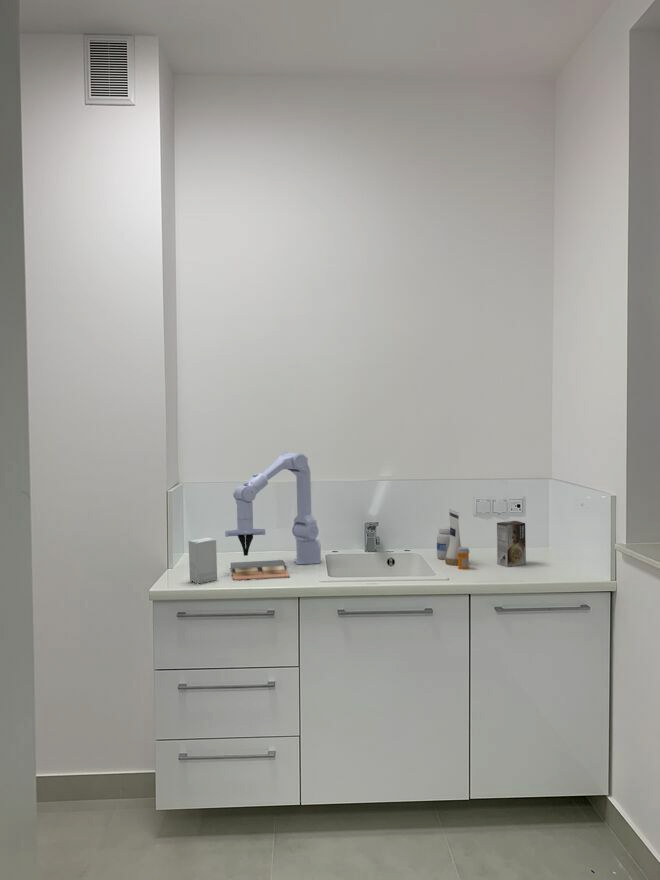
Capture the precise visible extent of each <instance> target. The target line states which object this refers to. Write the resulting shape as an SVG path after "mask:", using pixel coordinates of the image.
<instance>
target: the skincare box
mask: <svg viewBox="0 0 660 880" xmlns="http://www.w3.org/2000/svg"><path fill="white" fill-rule="evenodd" d="M217 559H218V558H217V539H215V538H212V537H210V536H209V537H207V536H206V537H202V538H196V539H190V540H188V560H189V561H188V562H189V581H190V582H192V581H193V582H192V583H194V582H195V583H194V584H196V583H200V584H204V583H208V582H213V581H217V580H218V567H217V566H218V564H217V562H218V561H217Z"/></svg>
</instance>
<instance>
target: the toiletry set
mask: <svg viewBox="0 0 660 880" xmlns="http://www.w3.org/2000/svg"><path fill="white" fill-rule="evenodd" d="M459 523H460V521H459V512H458V511H455V510H452V509H449V526H440V527H438V534H437V536H436V557H437V558H438V560H445V561H444V562H445V564H446V565H449V566H457V568H458V570H469V564H470V562H469V559H470V558H469V554H470V553H471V552H470V549H469V547H466V546H462V543H461V536H460V527H459V526H460V525H459Z"/></svg>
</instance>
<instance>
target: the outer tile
mask: <svg viewBox="0 0 660 880" xmlns="http://www.w3.org/2000/svg"><path fill="white" fill-rule="evenodd" d="M235 574H236V576H251V575H258V569H257V567H250V568H235Z"/></svg>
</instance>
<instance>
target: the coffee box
mask: <svg viewBox="0 0 660 880" xmlns="http://www.w3.org/2000/svg"><path fill="white" fill-rule="evenodd" d="M526 539H527V538H526V522H522V521H519V520H509V521H508V520H507V521H501V522H496V544H497V545H496V548H497V549H496V552H497V553H496V557H497V558H496V563H497V565H499V566H503V567H506V568H509V567H516V566H523V565H526V564H527V558H526V556H527V554H526V553H527V551H526V549H527V546H526V543H527V542H526Z"/></svg>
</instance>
